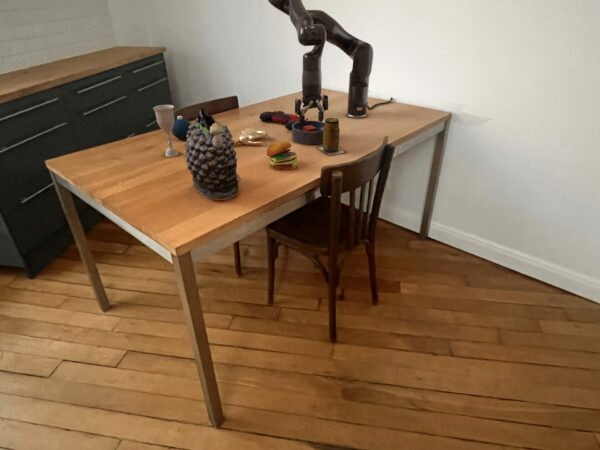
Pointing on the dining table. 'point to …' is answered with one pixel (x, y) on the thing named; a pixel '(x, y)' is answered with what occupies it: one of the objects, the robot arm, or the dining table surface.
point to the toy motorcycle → (280, 118)
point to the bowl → (308, 133)
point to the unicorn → (250, 136)
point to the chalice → (166, 125)
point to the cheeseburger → (282, 155)
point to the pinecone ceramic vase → (211, 158)
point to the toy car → (309, 128)
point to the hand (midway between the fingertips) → (311, 122)
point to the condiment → (331, 137)
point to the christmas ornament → (181, 128)
